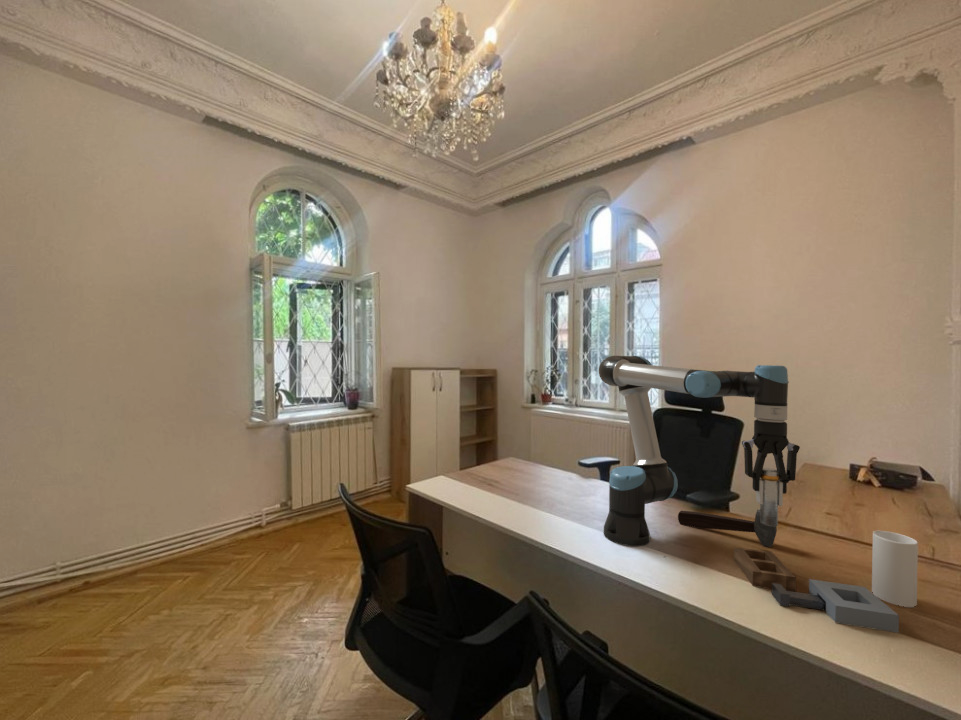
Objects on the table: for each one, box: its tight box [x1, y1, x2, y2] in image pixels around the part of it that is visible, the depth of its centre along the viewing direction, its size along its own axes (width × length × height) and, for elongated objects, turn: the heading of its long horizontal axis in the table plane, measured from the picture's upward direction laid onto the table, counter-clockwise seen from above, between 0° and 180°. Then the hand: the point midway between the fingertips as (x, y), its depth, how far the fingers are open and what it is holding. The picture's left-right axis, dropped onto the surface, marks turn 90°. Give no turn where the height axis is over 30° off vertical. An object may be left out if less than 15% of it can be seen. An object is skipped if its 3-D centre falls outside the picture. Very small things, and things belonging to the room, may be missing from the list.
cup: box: [871, 530, 919, 608], centre depth 105 cm, size 8×8×16 cm
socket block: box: [808, 578, 900, 634], centre depth 98 cm, size 12×12×4 cm
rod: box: [759, 467, 779, 527], centre depth 112 cm, size 4×4×15 cm
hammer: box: [677, 509, 778, 548], centre depth 143 cm, size 5×11×30 cm
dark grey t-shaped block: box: [771, 583, 826, 611], centre depth 101 cm, size 10×5×3 cm, turn 74°
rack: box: [733, 546, 797, 592], centre depth 115 cm, size 10×15×4 cm, turn 164°
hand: (769, 503), depth 112 cm, fingers closed on rod, 4 cm apart
